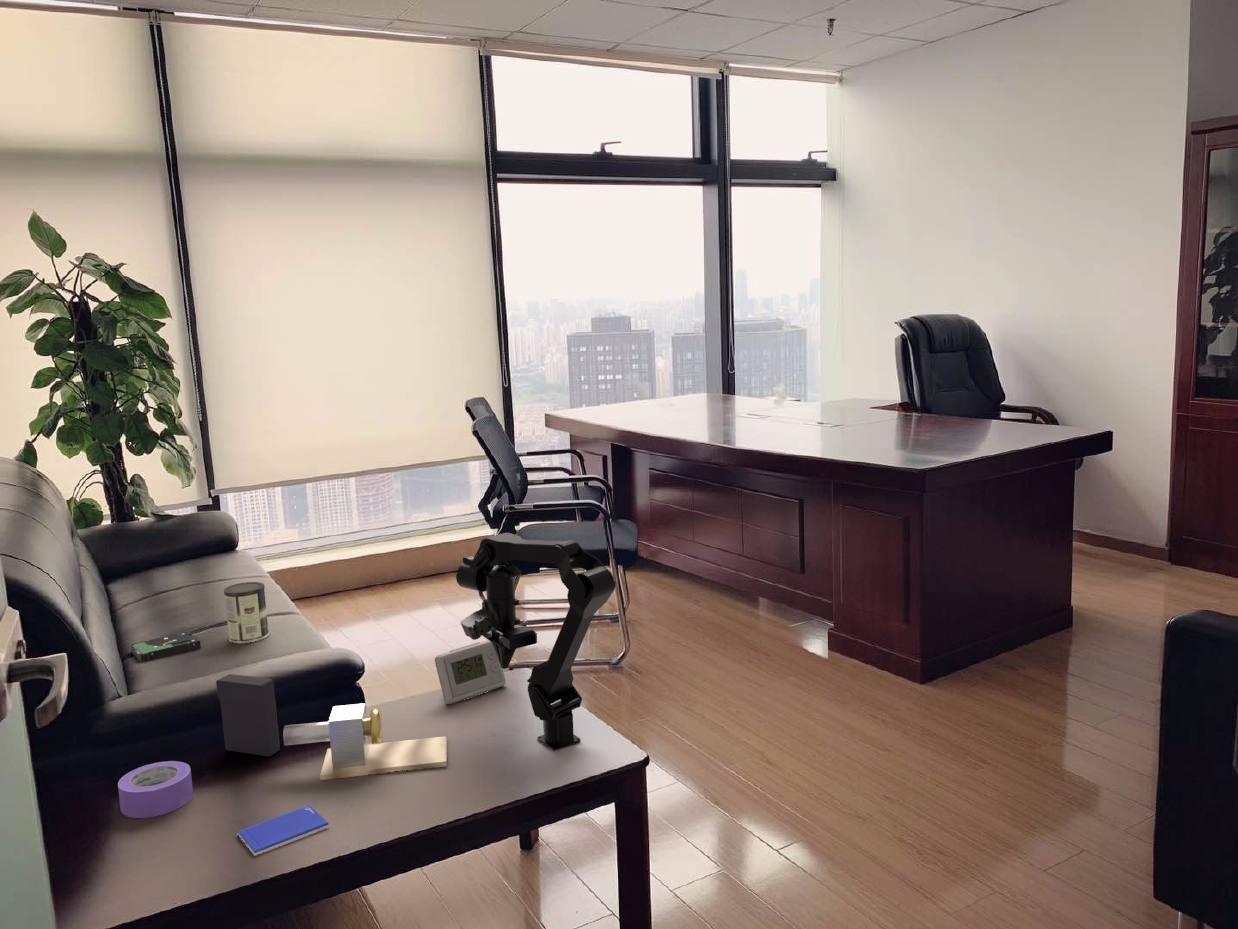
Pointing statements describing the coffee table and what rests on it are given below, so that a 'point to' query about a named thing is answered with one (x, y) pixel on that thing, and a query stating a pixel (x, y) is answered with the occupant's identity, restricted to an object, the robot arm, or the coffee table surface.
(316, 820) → the hard drive
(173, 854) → the coffee table surface
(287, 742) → the shaft
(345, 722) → the bearing block
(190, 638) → the disk drive
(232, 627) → the coffee can
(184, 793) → the tape roll
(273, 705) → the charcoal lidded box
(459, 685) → the digital clock
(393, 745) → the board
